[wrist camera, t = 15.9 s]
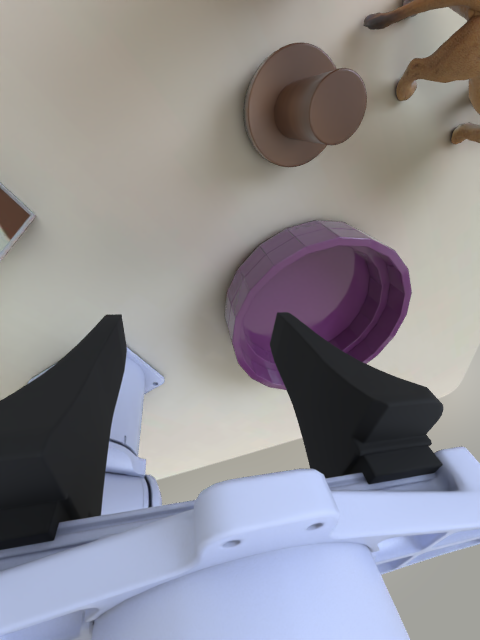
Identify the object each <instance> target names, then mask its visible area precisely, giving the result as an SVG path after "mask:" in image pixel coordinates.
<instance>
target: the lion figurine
mask: <svg viewBox="0 0 480 640" xmlns="http://www.w3.org/2000/svg"><path fill="white" fill-rule="evenodd" d="M444 7H449V8H451V9H452V10H453V11H455V12H456V13H458V14H459V15H461V16H462V17H464V18H465V19H466V20H467V23H466V24H464V25H463V26H462V27H461V28H460V29H459V30H458V31H457V32H455V33H454V34H453V35H452V36H451V37H450V38H449V39H448V40H447V41H446V42H445V43H443V44H442V45H441V46H440V47H439V48H438V49H437V50H436V51H435V52H434V53H433V54H432V55H431V56H429V57H426V58H415V59H413V60H412V61H411V62H410V63H409V65H408V67H407V69H406V71H405V72H404V74H403V76H402V77H401V79H400V81H399V82H398V85H397V89H396V94H397V98H398V99H399V100H400V101H403V100H407V99H408V98H410V97H411V96H412V95H413V93H414V91H415V90H416V88H417V83H416V80H417V79H425V80H430V81H436V82H442V83H447V82H451V81H455V80H467V79H469V99H470V101H471V103H472V105H473V107H474V109H475V110H476V111H477V112H478V113H479V114H480V0H404V1H403V6H402V7H399V8H397V9H396V10H394V11H392V12H388V13H376V14H371V15H369V16H367V17H366V18H365V20H364V26H366V27H368V28H369V29H383V28H385V27H387V26H389V25H391V24H393V23H396V22H398V21H400V20H402V19H405V18H407V17H409V16H411V17H412V16H415V15H416V14H418V13H421V12H425V11H428V10H432V9H438V8H444ZM465 139H468V140H471V141H476V142H478V143H480V125H476V124H472V123H464V124H461V125H459V126H458V127H456V128H455V130H454V131H453V134H452V138H451V141H452V143H453V144H458V143H461V142H462V141H464V140H465Z"/></svg>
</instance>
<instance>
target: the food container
mask: <svg viewBox="0 0 480 640" xmlns="http://www.w3.org/2000/svg"><path fill="white" fill-rule="evenodd" d="M35 217H36V215H35V214H34V213H33V212H32V211H30V210H29V209H28V208H27V207H26V206H25V205H24V204H23V203H22V202H21V201H20V200H19V199H18V198H16V197H15V196H14V195H13V194H12V193H11V192H10V191H9V190H8V189H7V188H6V187H5V186H4V185H3V184H1V183H0V261H1V260H2V259H3V258H4V256H5V255H6V254H7V253H8V251H9V250H10V249H11V247H12V246H13V245H14V244H15V242H16V241H17V240H18V239H19V237H20V236H21V235H22V233H23V232H24V231H25V230H26V228H27V227H28V226H29V225H30V223H31V222H32V221H33V219H34V218H35Z"/></svg>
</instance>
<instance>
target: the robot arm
mask: <svg viewBox="0 0 480 640" xmlns="http://www.w3.org/2000/svg"><path fill="white" fill-rule="evenodd" d="M270 347H271V351H272V355H273V359H274V362H275V364H276V367H277V369H278V371H279V374H280V376H281V378H282V381H283V383H284V385H285V387H286V390H287V392H288V394H289V397H290V399H291V402H292V404H293V407H294V410H295V413H296V417H297V420H298V423H299V427H300V430H301V434H302V437H303V441H304V445H305V448H306V452H307V457H308V460H309V465H310V469H295V470H289V471H282V472H276V473H269V474H262V475H255V476H249V477H242V478H236V479H230V480H226V481H222V482H219V483H215V484H213V485H211V486H210V487H208V488H206V489H204V490H203V491H202V492H201V493H200V494H199V496H198V497H197V499H196V500H193V501H187V502H181V503H174V504H168V505H162V498H161V493H160V490H159V487H158V484H157V482H156V480H155V478H154V477H153V476H151V475H145V470H146V459H142V458H139V457H138V452H139V442H140V432H141V421H142V411H143V401H144V394H146V393H147V392H149V391H151V390H153V389H154V388H156V387H158V386H160V385H161V384H163V383H164V377H163V376H162V375H160V374H159V373H158V372H157V371H156V370H154V369H153V368H152V367H151V366H149V365H148V364H147V363H146V362H145V361H143V360H142V359H141V358H140V357H138V356H137V355H136V354H135V353H133V352H132V351H131V350H130V349H129V348H127V347H126V341H125V334H124V328H123V322H122V315H106V316H104V317H103V319H102V320H101V321H100V322H99V323H98V324H97V325H96V326H95V327H94V328H93V329H92V330H91V332H90V333H89V334H88V335H87V336H86V337H85V338H84V339H83V340H82V341H81V342H80V343H79V344H78V345H77V346H76V347H75V348H74V349H72V350H71V351H70V352H69V353H68V354H67V355H66V356H65V357H64V358H62V359H61V360H60V361H59V362H58V363H56V364H54V365H53V366H51V367H50V368H48V369H46V370H45V371H43V372H42V373H40V374H38V375H37V376H35V377H34V378H32V379H30V380H29V382H28V384H27V385H25V386H24V387H22V388H21V389H19V390H18V391H16V392H15V393H13V394H11V395H9V396H8V397H6V398H4V399H3V400H1V401H0V640H410V638H409V636H408V634H407V631H406V629H405V627H404V625H403V623H402V621H401V619H400V616H399V614H398V612H397V609H396V607H395V605H394V603H393V601H392V598H391V597H390V594H389V592H388V590H387V588H386V586H385V584H384V581H383V579H382V577H381V575H382V574H385V573H387V572H391V571H394V570H397V569H400V568H402V567H406V566H409V565H412V564H415V563H418V562H421V561H424V560H427V559H430V558H433V557H437V556H440V555H443V554H446V553H450V552H453V551H456V550H459V549H464V548H467V547H471V546H474V545H478V544H480V464H479V462H478V461H477V460H476V459H475V458H474V457H473V455H472V454H470V452H469V451H468V450H467V449H466V448H465V447H462V446H461V447H456V448H449V449H443V450H440V451H437V452H435V453H433V452H432V450H431V449H430V448H429V446H430V445H431V444H432V443H431V440H430V439H429V438H428V436H427V435H426V434H427V432H428V431H429V430H430V429H431V428H432V427H433V425H434V424H435V423H436V422H437V421H438V420H439V418H440V417H441V415H442V412H443V405H442V403H441V402H440V401H439V400H438V399H437V398H436V397H435V396H434V395H433V393H432V392H431V391H430V390H429V389H428V388H427V387H424V386H421V385H418V384H415V383H412V382H409V381H406V380H403V379H400V378H397V377H395V376H392V375H390V374H387V373H385V372H383V371H380V370H378V369H376V368H373V367H371V366H369V365H367V364H365V363H363V362H361V361H359V360H357V359H355V358H354V357H352V356H350V355H348V354H347V353H345V352H343V351H341V350H340V349H338V348H337V347H335V346H334V345H332V344H331V343H329V342H328V341H326V340H325V339H323V338H322V337H321V336H319V335H318V334H317V333H315V332H314V331H313V330H311V329H310V328H309V327H308V326H306V325H305V324H304V323H302V322H301V321H300V320H299V319H297V318H296V317H295V316H293V315H292V314H290V313H289V312H277V315H276V319H275V323H274V328H273V332H272V336H271V341H270ZM154 382H157V383H154Z"/></svg>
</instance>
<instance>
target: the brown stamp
mask: <svg viewBox="0 0 480 640" xmlns="http://www.w3.org/2000/svg"><path fill="white" fill-rule="evenodd" d="M366 102H367V94H366V88H365V85H364V82H363V80H362V79H361V77H360V76H359V75H358V74H357V73H356V72H355V71H353V70H351V69H347V68H340V69H336V67H335V65H334V63H333V62H332V60H331V59H330V58H329V56H328V55H327V54H326V53H325V52H324V51H323V50H321V49H320V48H318V47H316V46H314V45H311V44H308V43H293V44H289V45H286V46H284V47H282V48H280V49H279V50H277V51H275V52H274V53H272V54H271V55H270V56H269V57H268V58H266V60H265V61H264V62H263V63H262V64H261V65H260V67H259V68H258V70H257V71H256V73H255V75H254V77H253V78H252V80H251V82H250V84H249V87H248V89H247V93H246V96H245V101H244V123H245V128H246V131H247V134H248V137H249V139H250V141H251V142H252V144H253V145H254V147H255V148H256V150H257V151H258V152H259V153H260V154H261V156H263V157H264V158H265V159H266V160H268V161H270V162H272V163H274V164H276V165H279V166H283V167H296V166H300V165H303V164H305V163H307V162H309V161H311V160H312V159H314V158H315V157H316V156H318V155H319V154H320V153H321V152H322V151H323V149H324V148H325V147H326V146H327V145H336V144H340V143H342V142H344V141H346V140H347V139H348V138H349V137H350V136H352V135H353V133H354V132H355V131H356V130H357V128H358V127H359V125H360V123H361V121H362V119H363V116H364V113H365V109H366Z"/></svg>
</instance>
